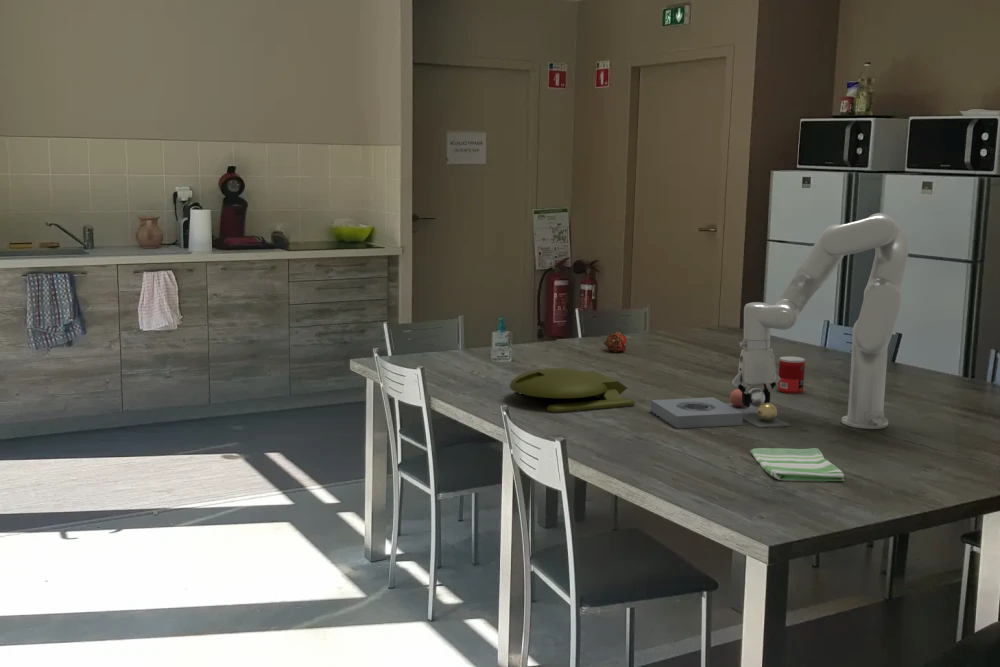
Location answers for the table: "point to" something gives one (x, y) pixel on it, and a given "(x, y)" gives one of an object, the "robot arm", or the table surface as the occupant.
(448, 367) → the table surface
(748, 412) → the mat
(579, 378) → the spaceship
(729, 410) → the board
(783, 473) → the dish towel
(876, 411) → the robot arm
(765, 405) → the brass ball
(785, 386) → the canned food
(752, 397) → the steel ball
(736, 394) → the rubber ball
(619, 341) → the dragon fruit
